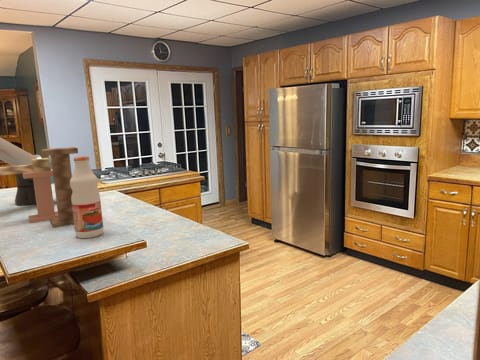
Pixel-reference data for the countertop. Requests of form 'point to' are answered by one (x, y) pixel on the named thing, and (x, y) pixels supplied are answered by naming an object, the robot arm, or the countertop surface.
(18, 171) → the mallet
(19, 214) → the countertop surface
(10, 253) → the countertop surface
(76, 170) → the fruit juice
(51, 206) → the terracotta stand
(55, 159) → the walnut stand
